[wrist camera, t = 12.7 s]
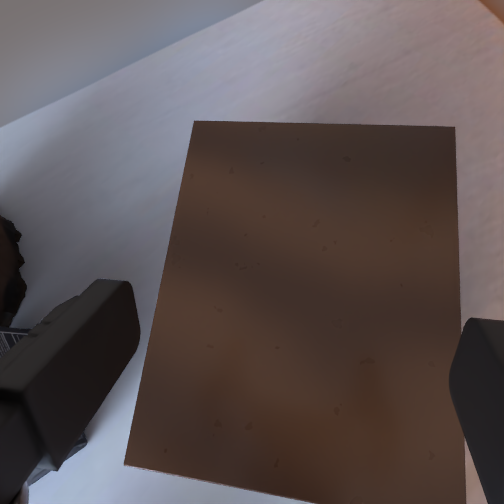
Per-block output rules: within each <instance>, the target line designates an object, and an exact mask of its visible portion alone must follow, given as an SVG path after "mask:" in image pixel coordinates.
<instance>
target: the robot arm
mask: <svg viewBox="0 0 504 504" xmlns="http://www.w3.org/2000/svg"><path fill="white" fill-rule="evenodd" d="M140 334H141V331H140V324H139V318H138V313H137V308H136V303H135V297H134V292H133V288H132V285H131V284H130V283H129V282H128V281H121V280H111V279H101V278H100V279H97V280H95V281H94V282H93V283H92V284H91V285H90V286H89V287H88V288H87V289H86V290H85V291H84V292H83V293H81V294H80V295H79V296H75V297H73V298H71V299H69V300H67V301H66V302H64V303H62V304H60V305H58V306H56V307H55V308H54V309H53V310H52V311H51V312H50V313H49V314H48V315H47V316H45V317H44V318H43V319H42V320H41V323H40V324H37V325H36V326H35V327H34V328H32V329H31V330H30V331H29V332H28V335H27V336H24V337H23V338H22V339H20V340H19V341H18V342H17V343H16V344H15V345H14V346H13V347H12V348H11V349H10V350H8V351H7V352H6V353H5V354H4V355H3V356H2V357H1V358H0V504H28V499H29V488H28V483H27V481H26V480H27V479H28V477H29V476H30V475H31V473H32V472H33V470H34V469H35V468H36V467H38V468H43V469H47V470H52V471H58V470H59V468H60V467H61V465H62V463H63V462H64V460H65V459H66V457H67V456H68V454H69V453H70V451H71V450H72V448H73V447H74V445H75V444H76V442H77V441H78V439H79V438H80V436H81V435H82V433H83V431H84V430H85V428H86V427H87V425H88V424H89V422H90V421H91V419H92V418H93V416H94V415H95V413H96V412H97V410H98V409H99V407H100V406H101V404H102V403H103V401H104V399H105V398H106V396H107V395H108V393H109V392H110V390H111V389H112V387H113V386H114V384H115V383H116V381H117V380H118V378H119V377H120V375H121V374H122V372H123V371H124V369H125V367H126V366H127V364H128V363H129V361H130V360H131V358H132V357H133V355H134V354H135V352H136V350H137V348H138V345H139V341H140ZM449 391H450V395H451V399H452V402H453V405H454V407H455V410H456V413H457V416H458V419H459V422H460V425H461V427H462V430H463V433H464V436H465V439H466V442H467V445H468V448H469V450H470V453H471V456H472V459H473V462H474V465H475V468H476V471H477V473H478V476H479V479H480V482H481V485H482V488H483V491H484V493H485V496H486V499H487V502H488V504H504V321H501V320H491V319H481V318H469V319H468V320H467V321H466V323H465V326H464V328H463V331H462V334H461V337H460V340H459V343H458V346H457V349H456V352H455V355H454V358H453V361H452V364H451V367H450V372H449Z"/></svg>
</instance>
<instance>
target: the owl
mask: <svg viewBox="0 0 504 504" xmlns="http://www.w3.org/2000/svg"><path fill="white" fill-rule="evenodd" d="M21 236H22V235H21V233H20V232H19V231H18V230H16V228H15V226H14V223H12V221H9V220H6V219H5V218H4V217H2V216H1V215H0V326H1V327H8V328H9V326H10V324H11V322H12V319H13V317H14V316H15V315H16V314H17V311H18V308H19V306H20V304H21V302H22V300H23V299H24V297H25V292H26V289H27V285H26V284H25V281H24V280H23V279H22V277H21V274H20V272H19V268H20V267H21V266H22V265H23V264H24V263H25V262H24V258H23V257H22V255H21V254H20V252H19V247H18V244H17V243H16V242H19V240H20V238H21Z"/></svg>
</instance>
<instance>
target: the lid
mask: <svg viewBox="0 0 504 504" xmlns="http://www.w3.org/2000/svg"><path fill="white" fill-rule="evenodd" d="M460 337H461V307H460V272H459V238H458V204H457V170H456V135H455V127H445V126H403V125H361V124H318V123H276V122H234V121H194V123H193V128H192V133H191V138H190V143H189V148H188V153H187V158H186V162H185V167H184V172H183V177H182V182H181V187H180V192H179V197H178V201H177V206H176V211H175V216H174V221H173V226H172V231H171V236H170V240H169V245H168V250H167V255H166V260H165V265H164V270H163V275H162V279H161V284H160V289H159V294H158V299H157V304H156V309H155V314H154V318H153V323H152V328H151V333H150V338H149V343H148V348H147V353H146V357H145V362H144V367H143V372H142V377H141V382H140V387H139V392H138V396H137V401H136V406H135V411H134V416H133V421H132V426H131V431H130V436H129V440H128V445H127V450H126V455H125V460H124V466H128V467H133V468H138V469H143V470H148V471H153V472H158V473H163V474H169V475H174V476H179V477H184V478H189V479H194V480H199V481H204V482H209V483H214V484H219V485H224V486H229V487H234V488H239V489H244V490H249V491H254V492H259V493H264V494H269V495H275V496H280V497H285V498H290V499H295V500H300V501H305V502H310V503H315V504H466V478H465V444H464V433H463V430H462V427H461V425H460V422H459V419H458V416H457V413H456V410H455V407H454V405H453V402H452V399H451V395H450V391H449V372H450V367H451V364H452V361H453V358H454V355H455V352H456V349H457V346H458V343H459V340H460Z"/></svg>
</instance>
